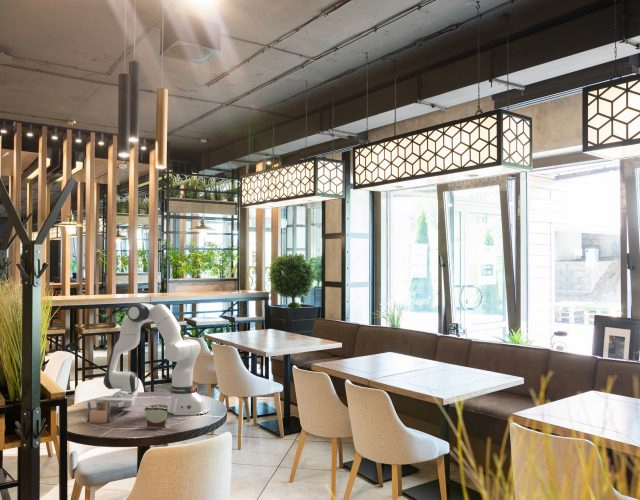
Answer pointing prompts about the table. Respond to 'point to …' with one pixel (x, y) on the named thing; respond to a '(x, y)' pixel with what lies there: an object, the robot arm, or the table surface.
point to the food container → (156, 415)
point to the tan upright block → (102, 405)
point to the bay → (101, 414)
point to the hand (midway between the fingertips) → (109, 405)
